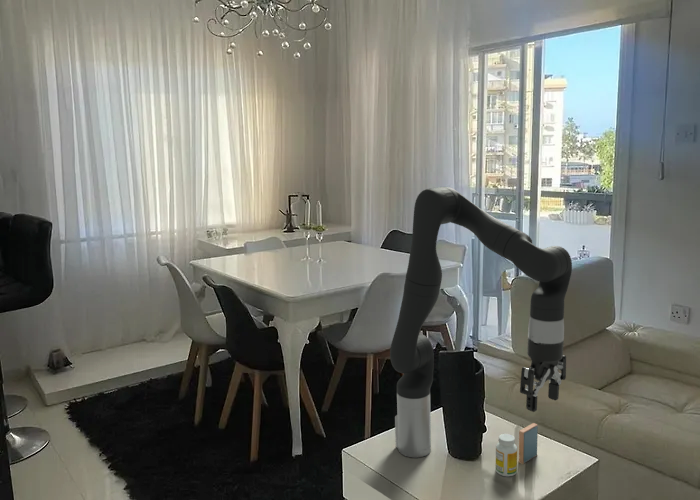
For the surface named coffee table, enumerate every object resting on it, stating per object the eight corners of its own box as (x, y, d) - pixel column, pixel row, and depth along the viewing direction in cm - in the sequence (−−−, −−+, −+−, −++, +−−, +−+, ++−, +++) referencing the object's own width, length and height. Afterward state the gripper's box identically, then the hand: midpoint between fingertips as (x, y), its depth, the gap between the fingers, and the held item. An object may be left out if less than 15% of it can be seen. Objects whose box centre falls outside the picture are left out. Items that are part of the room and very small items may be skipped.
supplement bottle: (494, 475, 149) (494, 440, 147) (496, 464, 154) (496, 431, 152) (516, 478, 147) (516, 443, 146) (517, 467, 152) (518, 433, 150)
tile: (518, 462, 155) (519, 430, 153) (532, 453, 159) (533, 422, 157) (523, 464, 154) (524, 432, 152) (537, 455, 158) (538, 424, 156)
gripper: (548, 325, 135) (545, 390, 138) (511, 339, 126) (509, 408, 129) (578, 333, 129) (574, 401, 132) (542, 348, 120) (538, 420, 124)
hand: (542, 404), depth 131 cm, fingers open, 8 cm apart
